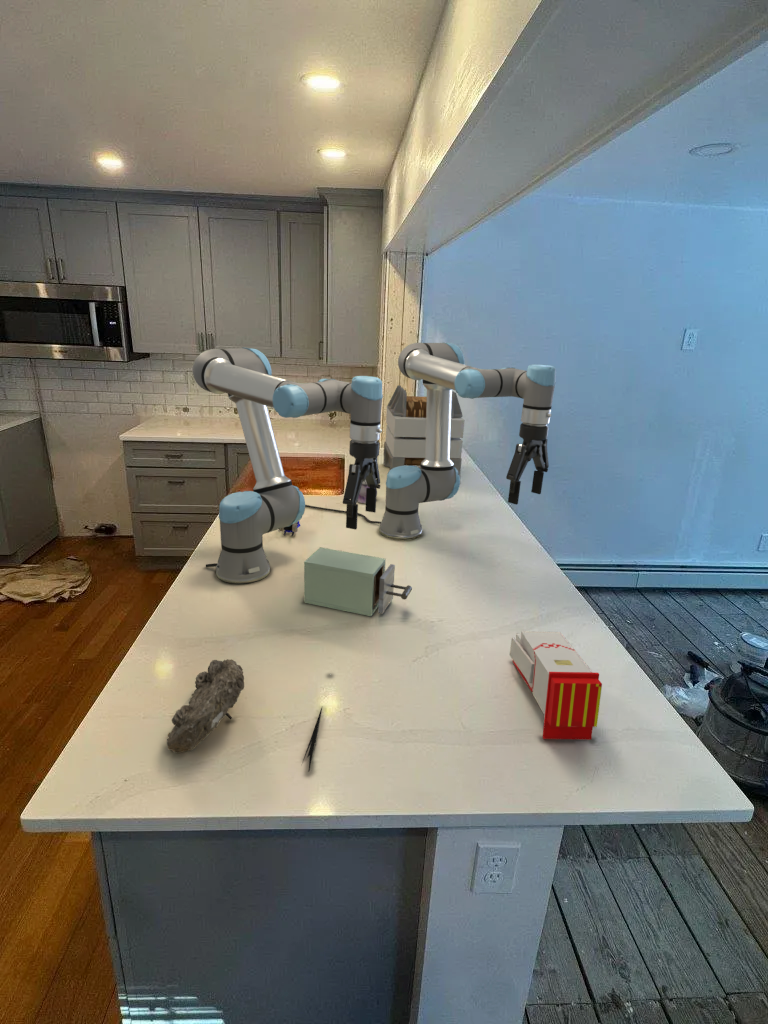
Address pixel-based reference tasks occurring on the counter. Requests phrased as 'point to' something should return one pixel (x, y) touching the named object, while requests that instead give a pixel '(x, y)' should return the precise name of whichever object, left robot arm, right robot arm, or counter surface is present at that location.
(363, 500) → the figurine
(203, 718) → the fossil
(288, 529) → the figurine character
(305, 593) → the cabinet
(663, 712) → the counter surface
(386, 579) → the drawer
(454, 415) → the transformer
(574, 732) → the toy
